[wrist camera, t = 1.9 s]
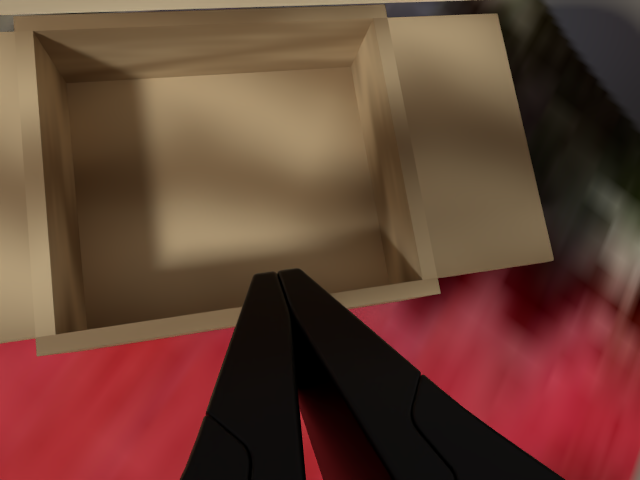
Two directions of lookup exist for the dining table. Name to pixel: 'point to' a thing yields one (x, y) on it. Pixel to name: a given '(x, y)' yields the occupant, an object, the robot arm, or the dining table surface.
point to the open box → (250, 164)
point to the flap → (159, 5)
